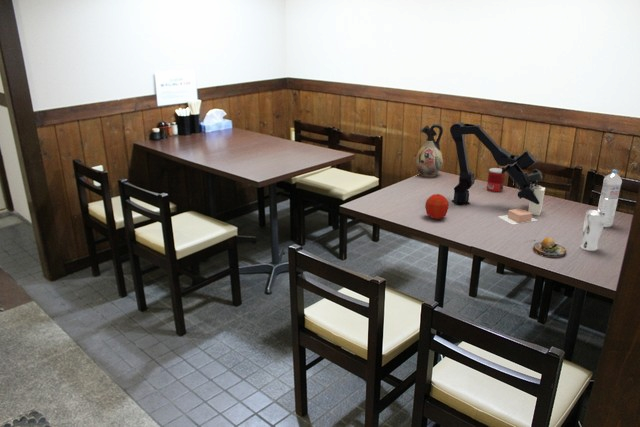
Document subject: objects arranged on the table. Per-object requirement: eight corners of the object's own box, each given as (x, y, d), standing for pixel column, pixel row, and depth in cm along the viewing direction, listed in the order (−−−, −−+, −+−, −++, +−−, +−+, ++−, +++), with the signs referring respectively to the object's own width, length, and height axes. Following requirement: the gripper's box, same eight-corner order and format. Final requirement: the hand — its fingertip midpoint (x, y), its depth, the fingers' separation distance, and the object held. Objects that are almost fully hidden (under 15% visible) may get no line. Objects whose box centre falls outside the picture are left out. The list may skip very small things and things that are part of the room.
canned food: (503, 193, 265) (506, 172, 261) (487, 191, 267) (490, 171, 263) (501, 188, 272) (504, 168, 268) (486, 187, 274) (488, 167, 270)
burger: (571, 258, 195) (575, 240, 192) (541, 259, 194) (544, 241, 191) (555, 245, 206) (558, 228, 203) (527, 246, 205) (530, 228, 203)
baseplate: (512, 227, 223) (512, 224, 222) (497, 218, 232) (497, 216, 231) (537, 222, 227) (538, 220, 227) (522, 214, 236) (522, 212, 236)
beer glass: (575, 244, 206) (582, 209, 200) (591, 244, 206) (599, 209, 201) (585, 252, 199) (592, 216, 194) (602, 251, 200) (610, 215, 194)
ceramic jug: (411, 177, 290) (415, 124, 279) (417, 170, 304) (421, 119, 293) (442, 180, 285) (447, 127, 274) (446, 173, 298) (451, 121, 287)
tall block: (527, 215, 235) (532, 186, 230) (529, 212, 239) (533, 183, 234) (539, 217, 233) (544, 188, 228) (540, 214, 237) (545, 185, 232)
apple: (420, 217, 233) (422, 193, 229) (432, 211, 240) (434, 188, 236) (440, 223, 226) (442, 199, 222) (451, 217, 233) (454, 193, 229)
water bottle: (610, 223, 227) (622, 168, 218) (613, 228, 221) (625, 173, 212) (593, 221, 229) (604, 167, 220) (595, 226, 223) (607, 171, 214)
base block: (518, 222, 224) (519, 215, 223) (507, 217, 230) (508, 210, 229) (531, 220, 226) (532, 213, 225) (520, 215, 232) (521, 208, 231)
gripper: (529, 170, 222) (552, 198, 221) (536, 160, 237) (557, 186, 236) (507, 184, 228) (530, 212, 227) (515, 174, 243) (537, 199, 242)
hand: (539, 202), depth 233 cm, fingers closed on tall block, 5 cm apart
